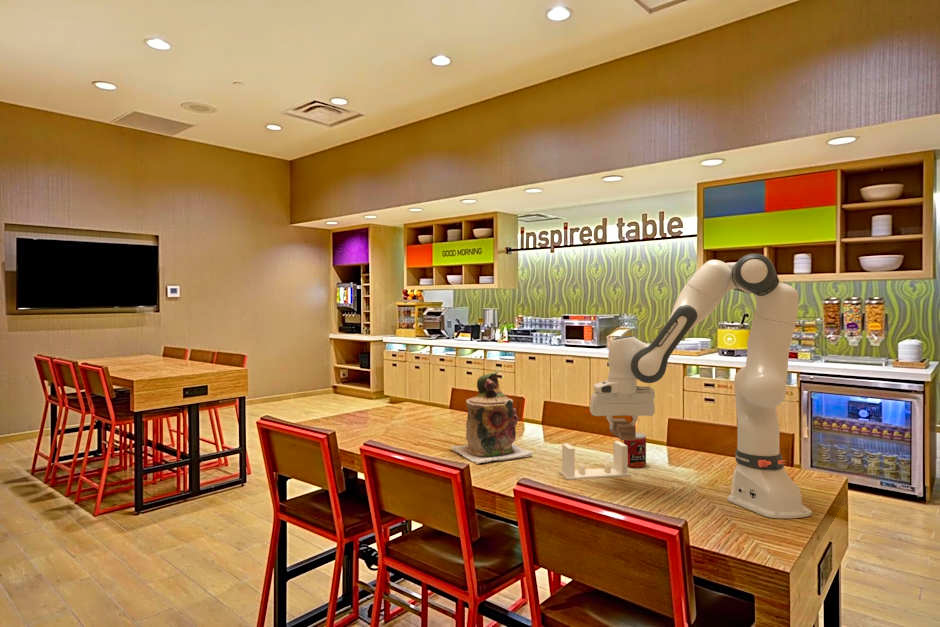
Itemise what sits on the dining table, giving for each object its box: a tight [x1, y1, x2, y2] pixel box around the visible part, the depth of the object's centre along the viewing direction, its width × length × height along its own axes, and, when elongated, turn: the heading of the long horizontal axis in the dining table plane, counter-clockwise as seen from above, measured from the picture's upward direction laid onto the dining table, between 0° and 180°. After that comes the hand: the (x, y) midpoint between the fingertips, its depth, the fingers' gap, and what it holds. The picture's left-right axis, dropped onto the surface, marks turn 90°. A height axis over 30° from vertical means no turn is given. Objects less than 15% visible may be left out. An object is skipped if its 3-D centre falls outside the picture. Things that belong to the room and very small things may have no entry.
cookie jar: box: [450, 369, 534, 465], centre depth 225 cm, size 25×25×32 cm
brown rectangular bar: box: [608, 417, 637, 441], centre depth 188 cm, size 14×4×4 cm, turn 1°
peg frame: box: [559, 440, 631, 480], centre depth 198 cm, size 22×8×10 cm, turn 99°
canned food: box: [623, 431, 647, 469], centre depth 208 cm, size 8×8×11 cm
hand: (621, 429), depth 188 cm, fingers closed on brown rectangular bar, 4 cm apart
